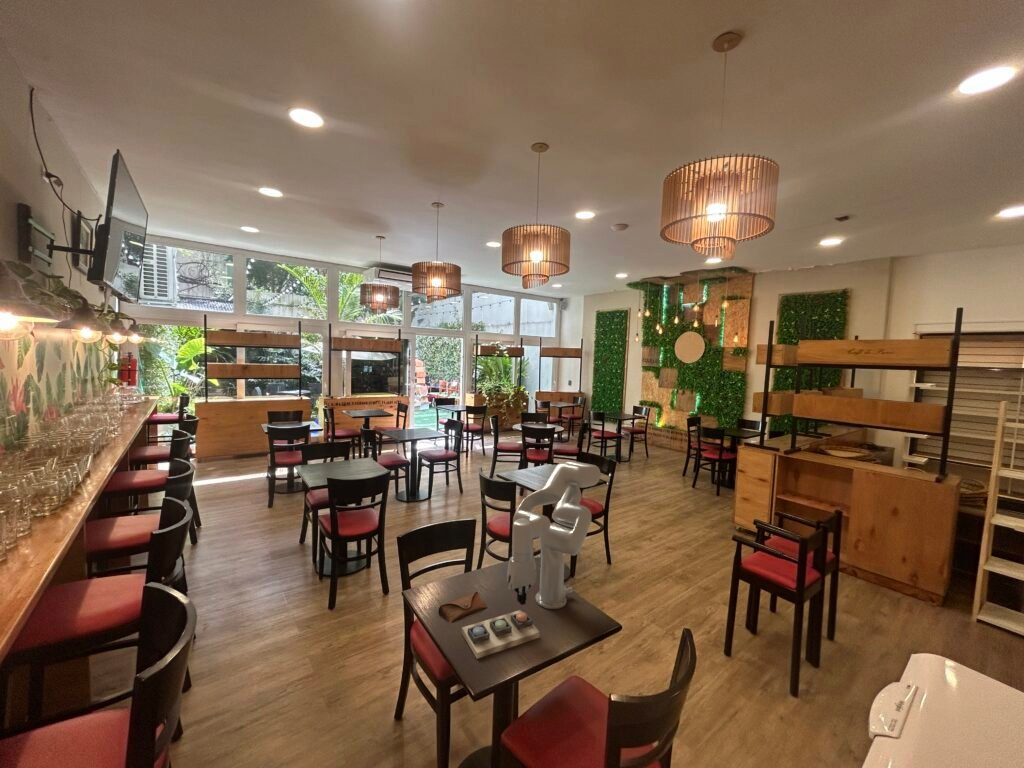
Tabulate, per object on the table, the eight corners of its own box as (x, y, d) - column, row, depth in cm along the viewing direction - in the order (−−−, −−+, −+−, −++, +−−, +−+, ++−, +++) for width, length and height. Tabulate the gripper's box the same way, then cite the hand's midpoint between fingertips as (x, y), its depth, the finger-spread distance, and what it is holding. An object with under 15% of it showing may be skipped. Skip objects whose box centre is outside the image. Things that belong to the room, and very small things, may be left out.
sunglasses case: (449, 624, 152) (445, 605, 154) (441, 625, 157) (437, 606, 159) (489, 606, 163) (484, 589, 166) (480, 608, 168) (475, 590, 170)
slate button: (481, 630, 146) (481, 625, 145) (486, 637, 142) (486, 632, 142) (470, 634, 144) (471, 628, 144) (475, 641, 140) (475, 635, 140)
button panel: (520, 614, 159) (520, 604, 159) (539, 637, 147) (539, 626, 146) (461, 632, 148) (461, 622, 147) (476, 658, 135) (477, 647, 135)
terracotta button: (523, 616, 154) (523, 611, 153) (528, 622, 150) (529, 617, 150) (514, 619, 152) (514, 613, 152) (519, 625, 148) (519, 620, 148)
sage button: (503, 624, 150) (503, 618, 149) (508, 630, 146) (508, 625, 146) (493, 627, 148) (493, 621, 148) (497, 634, 144) (498, 628, 144)
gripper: (535, 545, 156) (534, 591, 157) (499, 554, 149) (498, 602, 151) (545, 554, 149) (544, 602, 151) (508, 563, 142) (508, 614, 144)
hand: (521, 602), depth 151 cm, fingers closed
